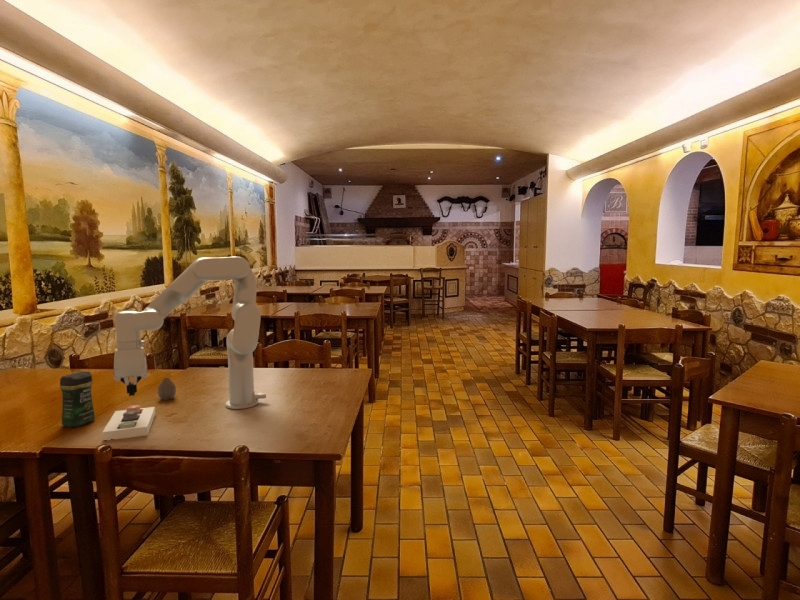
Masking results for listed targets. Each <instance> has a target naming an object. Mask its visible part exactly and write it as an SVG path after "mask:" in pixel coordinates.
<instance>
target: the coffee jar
mask: <svg viewBox="0 0 800 600" xmlns="http://www.w3.org/2000/svg"><path fill="white" fill-rule="evenodd" d="M93 381H94V380H93V375H92V373H91V372H90V371H84V370H83V371H77V372H74V373H70V374H66V375H62V376H61V377H60V379H59V388H60V389H61V390H60V391H61V394H62V407H61V408H62V409H61V410H62V411H61V424H62V426H64V427H66V428H72V427H80V426H83V425H87V424H89V423H90V422H93V421H94V420H95V416H96V415H95V409H94V404H93V396H92V395H93V394H92V385H93Z"/></svg>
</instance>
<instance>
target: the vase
mask: <svg viewBox="0 0 800 600" xmlns="http://www.w3.org/2000/svg"><path fill="white" fill-rule="evenodd" d="M176 393H177V388H176V385H175V383H174V382H173V381H172V380H171V378H169V377H165V378H163V379H162V380H161V382H160V384H159V385H158V387H157V394H158V397H159V398H160V399H161V400H162V401H169V400H172V399H173V398H174V397H175V396H176Z"/></svg>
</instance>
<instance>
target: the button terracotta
mask: <svg viewBox="0 0 800 600" xmlns="http://www.w3.org/2000/svg"><path fill="white" fill-rule="evenodd" d="M140 408H141V405H140V404H136V405H134V404H133V405H129V406H127V407H126V410H127V412H129V411H137V413H138V414H141V410H140Z"/></svg>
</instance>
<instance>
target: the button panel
mask: <svg viewBox="0 0 800 600" xmlns="http://www.w3.org/2000/svg"><path fill="white" fill-rule="evenodd" d="M140 410H141V414H138V420H134V421H133V422H135V427H130V428H122V429H120V424H121V423H123V422H124V421H123V413H125V412H127V409H123V410H115V411H114V413H112V414H113V415H112V416H111V417H110V419H109V421H108V422H107V424H106V425H105V427H104V429H103V431H102V434H101V435H102V441H103V440H107V441H113V440H114V439H115V440H120V439H123V440H124V439H128V438H137V437H143V436H144V437H146V436H149V433H150V429H151V427H152V425H153V422H154V419H155V416H156V407H155V406H151V407H142V408H141V407H140ZM126 422H128V421H126ZM111 439H113V440H111Z"/></svg>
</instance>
